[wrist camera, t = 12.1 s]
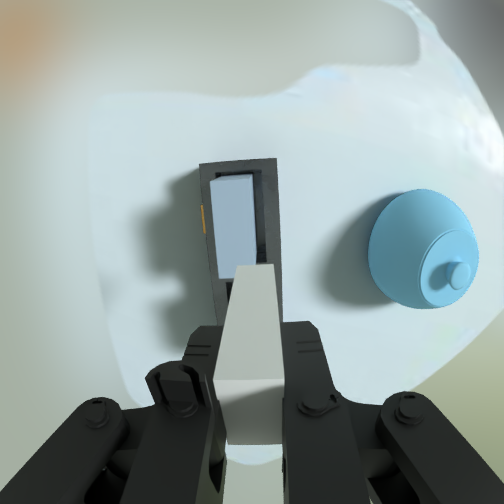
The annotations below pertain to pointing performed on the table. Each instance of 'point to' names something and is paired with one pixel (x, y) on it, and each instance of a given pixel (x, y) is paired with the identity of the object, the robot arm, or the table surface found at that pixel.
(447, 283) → the sugar bowl
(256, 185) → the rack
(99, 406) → the robot arm
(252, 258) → the panel
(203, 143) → the table surface
